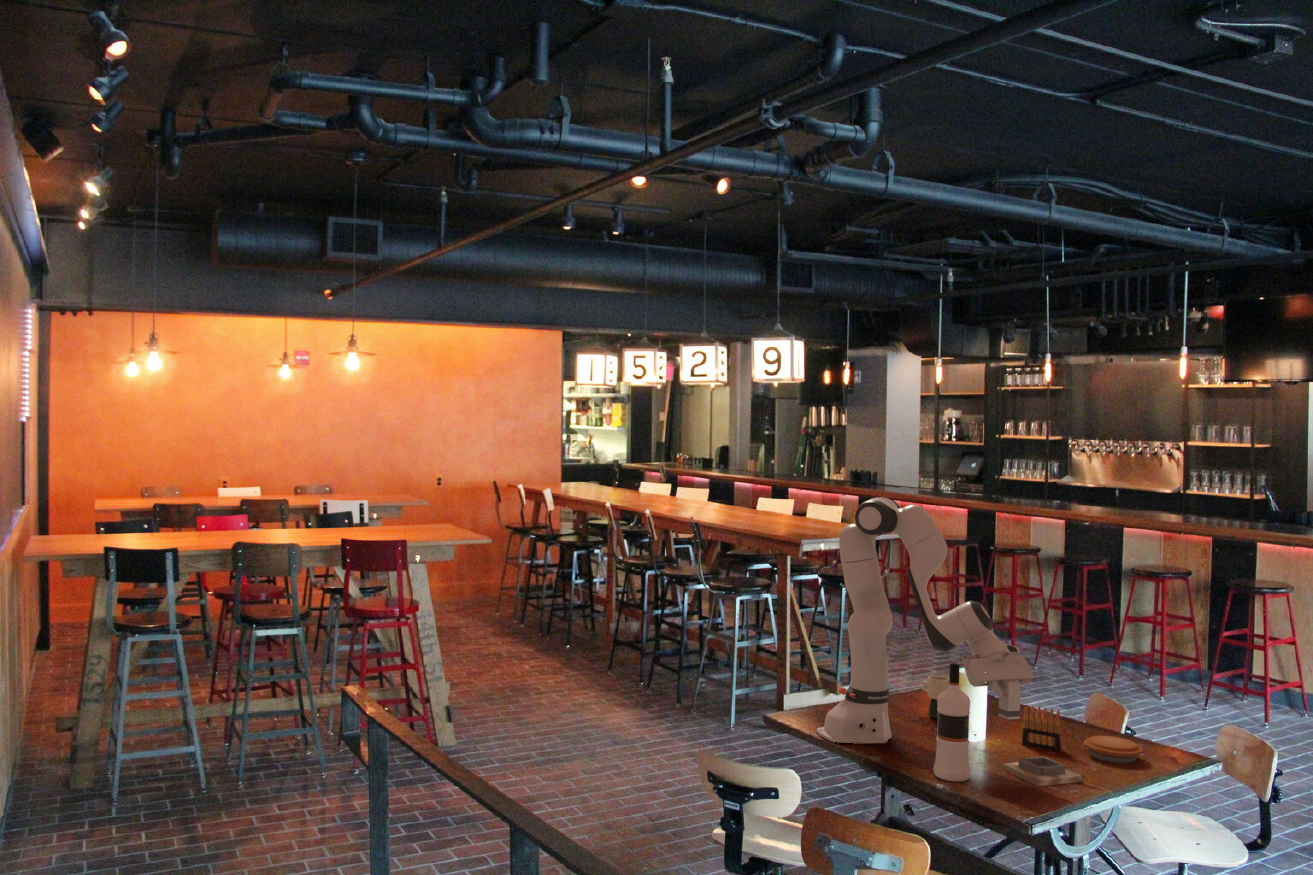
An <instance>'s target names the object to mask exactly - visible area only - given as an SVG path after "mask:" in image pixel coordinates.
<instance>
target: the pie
mask: <svg viewBox="0 0 1313 875" xmlns="http://www.w3.org/2000/svg"><path fill="white" fill-rule="evenodd" d="M1083 745H1084V746H1085V747H1086V748H1087V749H1088V751H1089V752H1090V753H1089V754H1090V755H1091V756H1092V757H1093V758H1095V759H1097V760H1100V761H1103V762H1107V763H1111V764H1123V765H1125V764H1126V765H1127V764H1132V763H1134V762H1135V761H1136V760H1137V758H1138V757H1139V756H1140V755H1141V754H1142V753H1143V751H1144V748H1143V747H1141V746H1140V745H1139V744H1137V743H1136V742H1134V741H1132V740H1129V739H1126V738H1124V737H1123V738H1122V737H1117V736H1110V735H1095V736H1094V735H1093V736H1091V737H1088V738H1086V739H1084V741H1083Z"/></svg>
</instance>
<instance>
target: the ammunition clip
mask: <svg viewBox="0 0 1313 875" xmlns="http://www.w3.org/2000/svg"><path fill="white" fill-rule="evenodd" d="M1053 709H1054V708H1052V707H1051V708H1050V711H1049V717H1048V709H1047V707H1044V709H1043V712H1042V710H1041V706H1038V707H1037V711H1035V710H1036V709H1035V706H1034V705H1032V706H1031V709H1030V710H1029V706H1028V704H1026V705H1025V707H1024V712H1023V713H1024V714H1023V722H1022V724H1023V726H1022V738H1021V739H1022V740H1021V745H1022V746H1024V747H1025V746H1026V747H1030V748H1031V747H1032V748H1036V749H1042V750H1047V751H1048V750H1049V751H1053V752H1061V751H1062V734H1061V733H1062V732H1061V731H1062V727H1061V726H1062V723H1061V713H1060V709H1057V710H1056V715H1055V714H1054V710H1053ZM1029 713H1030V714H1029ZM1042 713H1043V714H1042Z"/></svg>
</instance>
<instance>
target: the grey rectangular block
mask: <svg viewBox="0 0 1313 875" xmlns="http://www.w3.org/2000/svg"><path fill="white" fill-rule="evenodd" d="M1021 685H1022V684H1021V683H1019V682H1016V681H1013V680H1000V681H999V685H998V687H999V688H1000V689H1001V690H1004V691H1005V693H1006V697H1005V698H999V697H998V708H997V710H998V711H997V713H998V717H1000V718H1003V719H1005V720H1019V719H1020V718H1021V697H1020V691H1021V688H1022V687H1021Z"/></svg>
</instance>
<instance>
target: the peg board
mask: <svg viewBox="0 0 1313 875" xmlns="http://www.w3.org/2000/svg"><path fill="white" fill-rule="evenodd" d="M1002 770H1004V771H1006V772H1008V773H1009V774H1011V775H1015V777H1019V779H1020V778H1021V779H1022V780H1025V781H1026V782H1028V783H1031V784H1034V786H1037V787H1046V786H1054V785H1061V784H1062V785H1063V784H1072V783H1073V784H1074V783H1082V779H1083V776H1082V775H1080V774H1078V773H1076V772H1074V771H1071V770H1069V769H1066V764H1063V763H1060V761H1059V762H1058V761H1056V760H1053V759H1052V758H1050V757H1047V756H1042V755H1041V756H1029V757H1021V758H1019V759H1018V761H1017V762H1008V763H1002Z"/></svg>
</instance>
